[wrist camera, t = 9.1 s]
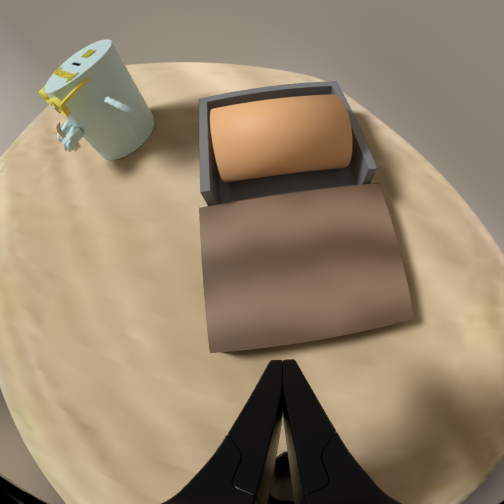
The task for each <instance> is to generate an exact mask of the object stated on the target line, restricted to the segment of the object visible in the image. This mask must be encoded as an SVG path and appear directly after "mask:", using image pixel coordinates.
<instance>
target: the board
mask: <svg viewBox="0 0 504 504" xmlns="http://www.w3.org/2000/svg"><path fill="white" fill-rule="evenodd" d="M199 215H200V237H201V254H202V270H203V284H204V296H205V308H206V319H207V330H208V340H209V349H210V353H216V352H229V351H240V350H249V349H258V348H267V347H275V346H282V345H289V344H296V343H303V342H309V341H315V340H321V339H327V338H332V337H337V336H343V335H348V334H353V333H357V332H362V331H367V330H371V329H376V328H380V327H384V326H388V325H392V324H396V323H400V322H404V321H408V320H412V319H414V315H413V309H412V304H411V298H410V293H409V288H408V283H407V278H406V274H405V269H404V265H403V261H402V257H401V253H400V249H399V245H398V241H397V238H396V234H395V231H394V227H393V224H392V220H391V217H390V214H389V211H388V208H387V204H386V201H385V198H384V195H383V192H382V190H381V187H380V184H379V183H374V184H363V185H354V186H344V187H335V188H327V189H319V190H311V191H303V192H295V193H288V194H281V195H274V196H267V197H261V198H254V199H248V200H242V201H236V202H230V203H224V204H218V205H213V206H207V207H202V208H199Z"/></svg>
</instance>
